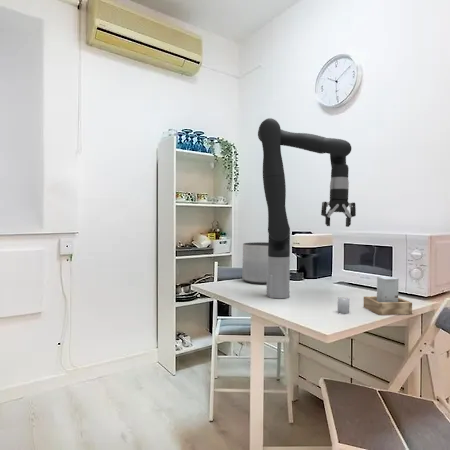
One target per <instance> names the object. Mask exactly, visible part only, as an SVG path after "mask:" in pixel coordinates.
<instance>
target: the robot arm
mask: <svg viewBox="0 0 450 450" xmlns="http://www.w3.org/2000/svg"><path fill="white" fill-rule="evenodd" d="M257 137H258V140H259V141H260V142H261V147H262V151H263V152H262V153H263V157H262V158H263V160H262V182H263V192H264V197H265V202H266V205H267V214H268V215H267V216H268V217H267V220H268V221H267V223H268V224H267V234H268V240H267V241H268V242H267V243H268V273H267V284H266V296H267V297H268V298H271V299H272V298H273V299H287V298H288V299H289V298H290V293H291V292H290V278H291V277H290V276H291V275H290V274H291V273H290V269H291V267H290V265H291V263H290V261H291V260H290V259H291V258H290V257H291V256H290V255H291V226H290V224H289V219H288V216H287V215H288V214H287V210H286V209H287V207H286V198H287V195H286V194H287V191H286V190H287V189H286V188H287V186H286V176H285V170H284V169H285V168H284V163H283V157H282V149H281V147H282V146H286V147H291V148H296V149H300V150H304V151H308V152H311V153H317V154H319V155H321V154H328V155H329V157H330V158H329V161H330V167H331V173H330V184H329V201H322V202H321V211H320V212H321V213H320V215H321V216H323V217H325V221H324V222H325V223H324V224H325V225H326V227H331V216H332V215H333V214H334V213H342V214H344V216H345V227H346V228H348V227H349V228H350V226H351V225H352V218H353V217H354V218H355V217H356V214H357V213H356V211H357V210H356V209H357V208H356V203H355V202H349V187H350V186H349V183H350V182H349V169H350V168H349V165H348V164H347V156H349V154H350V153H351V152H352V145H351V143H350V142H349V141H347V140H345V139H341V138H332V137H325V136H321V135H317V134H312V133H304V132H293V131H287V130H283V129H281V125H280V123H279V122H278V121H277V120H276V119H275V118H272V117H269V118H266V119H264V120H263V121H261V123H260V124H259V127H258V130H257ZM327 207H330V208H329V209H328V210H327ZM348 208H349V209H348Z"/></svg>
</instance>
